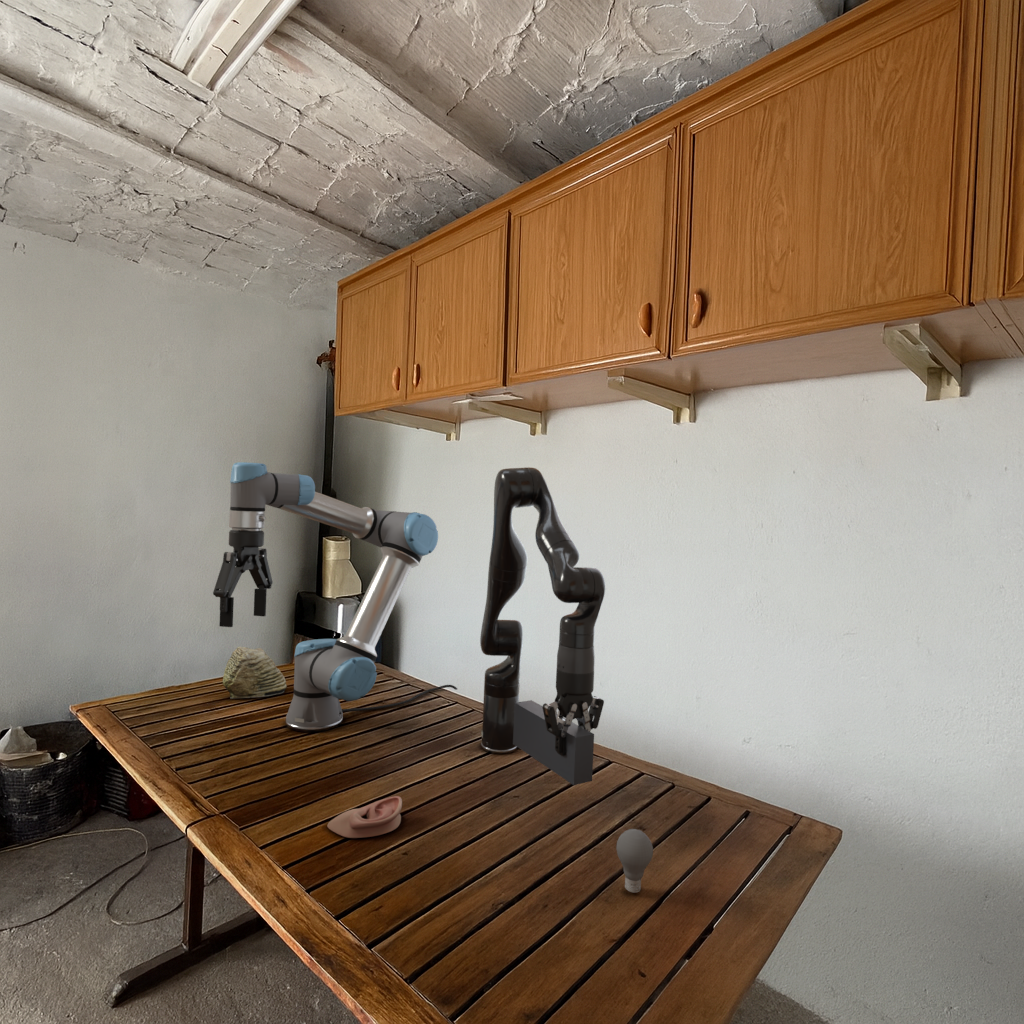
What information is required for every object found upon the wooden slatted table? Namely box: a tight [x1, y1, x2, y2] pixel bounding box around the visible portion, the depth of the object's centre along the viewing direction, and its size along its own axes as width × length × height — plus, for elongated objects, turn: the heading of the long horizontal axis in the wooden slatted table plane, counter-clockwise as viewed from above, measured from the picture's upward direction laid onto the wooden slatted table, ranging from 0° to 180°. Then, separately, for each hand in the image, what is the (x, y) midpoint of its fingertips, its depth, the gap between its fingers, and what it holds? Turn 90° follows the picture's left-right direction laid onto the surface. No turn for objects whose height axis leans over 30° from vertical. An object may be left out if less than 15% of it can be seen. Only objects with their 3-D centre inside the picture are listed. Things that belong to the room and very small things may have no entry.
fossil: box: [222, 646, 288, 699], centre depth 198 cm, size 9×18×15 cm, turn 132°
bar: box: [513, 699, 595, 786], centre depth 133 cm, size 23×4×9 cm, turn 31°
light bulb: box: [615, 828, 654, 894], centre depth 106 cm, size 6×6×10 cm
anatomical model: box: [327, 795, 403, 839], centre depth 123 cm, size 13×4×12 cm
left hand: (243, 621), depth 147 cm, fingers open, 13 cm apart
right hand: (571, 751), depth 127 cm, fingers closed on bar, 4 cm apart
